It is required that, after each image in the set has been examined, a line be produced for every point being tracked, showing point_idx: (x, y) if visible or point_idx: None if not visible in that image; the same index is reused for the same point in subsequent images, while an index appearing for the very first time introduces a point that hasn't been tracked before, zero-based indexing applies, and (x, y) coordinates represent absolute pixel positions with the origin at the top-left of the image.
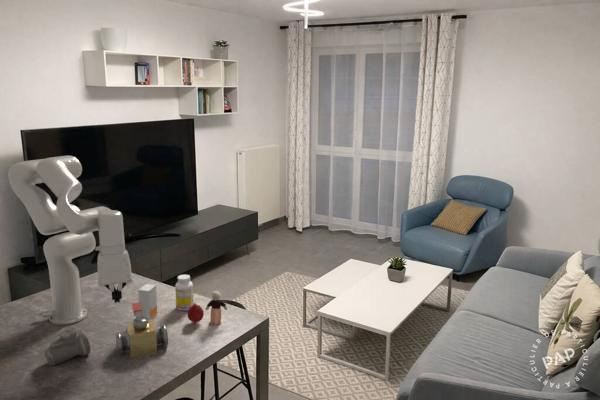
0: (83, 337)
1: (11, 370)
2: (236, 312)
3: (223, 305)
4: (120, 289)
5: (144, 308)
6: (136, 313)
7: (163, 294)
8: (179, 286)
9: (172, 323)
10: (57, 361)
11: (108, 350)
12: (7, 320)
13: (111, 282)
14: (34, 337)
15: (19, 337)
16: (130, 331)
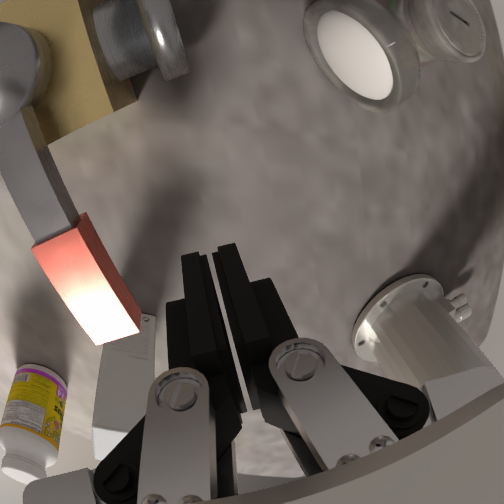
0: (367, 8)
1: (491, 32)
2: None
3: None
4: (169, 391)
5: (126, 351)
6: (47, 193)
7: None
8: (26, 443)
9: (23, 290)
10: None
11: (225, 63)
12: (497, 287)
13: (383, 502)
14: (471, 205)
15: (493, 209)
16: (66, 5)
